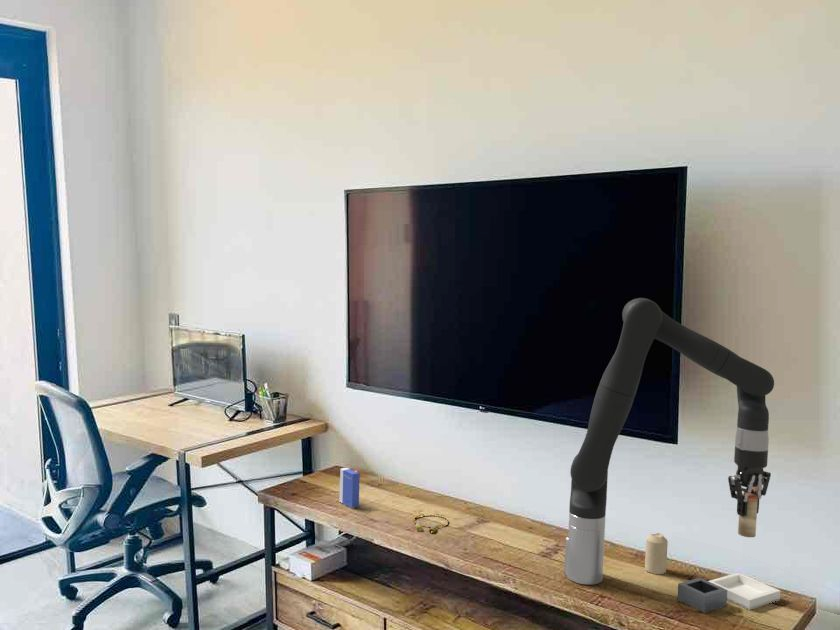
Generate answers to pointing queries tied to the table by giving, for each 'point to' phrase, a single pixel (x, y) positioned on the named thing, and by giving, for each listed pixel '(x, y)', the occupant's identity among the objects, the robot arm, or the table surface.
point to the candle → (656, 554)
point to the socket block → (702, 595)
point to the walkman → (349, 487)
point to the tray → (747, 591)
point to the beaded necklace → (419, 528)
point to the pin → (749, 518)
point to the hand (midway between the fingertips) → (747, 513)
